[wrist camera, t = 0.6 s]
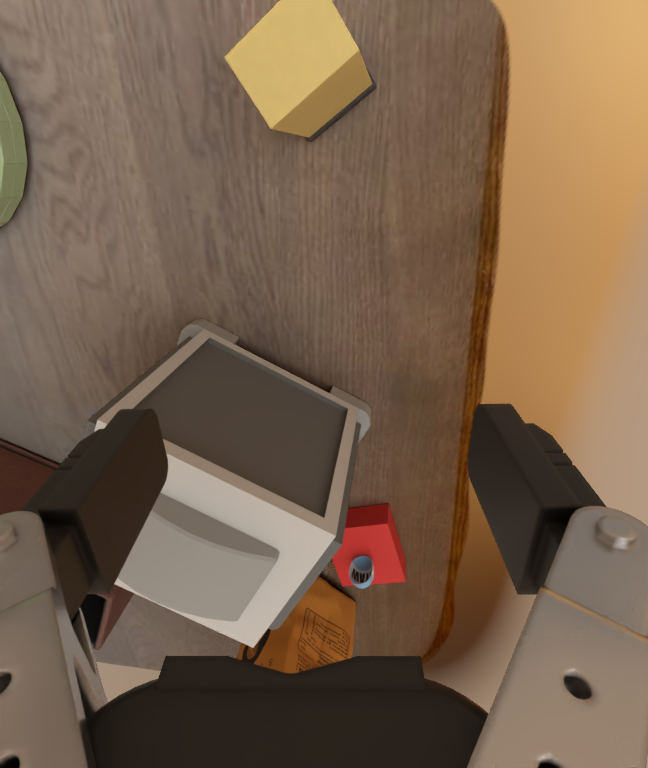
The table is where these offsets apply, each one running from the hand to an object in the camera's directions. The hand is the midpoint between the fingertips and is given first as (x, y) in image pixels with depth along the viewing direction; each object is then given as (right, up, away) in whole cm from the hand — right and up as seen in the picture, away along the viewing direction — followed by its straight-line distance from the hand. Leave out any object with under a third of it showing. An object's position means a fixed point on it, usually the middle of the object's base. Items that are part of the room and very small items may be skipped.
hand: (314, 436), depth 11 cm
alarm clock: (-6, -2, +32) cm, 32 cm away
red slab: (+5, -15, +36) cm, 40 cm away
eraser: (0, +21, +19) cm, 28 cm away
